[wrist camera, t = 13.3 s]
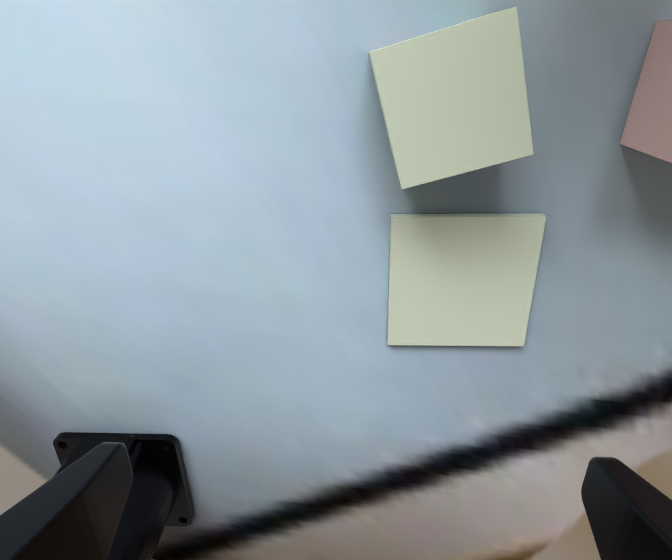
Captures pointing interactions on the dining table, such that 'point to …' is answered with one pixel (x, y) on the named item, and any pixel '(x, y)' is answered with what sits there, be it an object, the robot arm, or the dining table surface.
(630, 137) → the cube rose
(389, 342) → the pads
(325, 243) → the dining table surface
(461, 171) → the sage cube
